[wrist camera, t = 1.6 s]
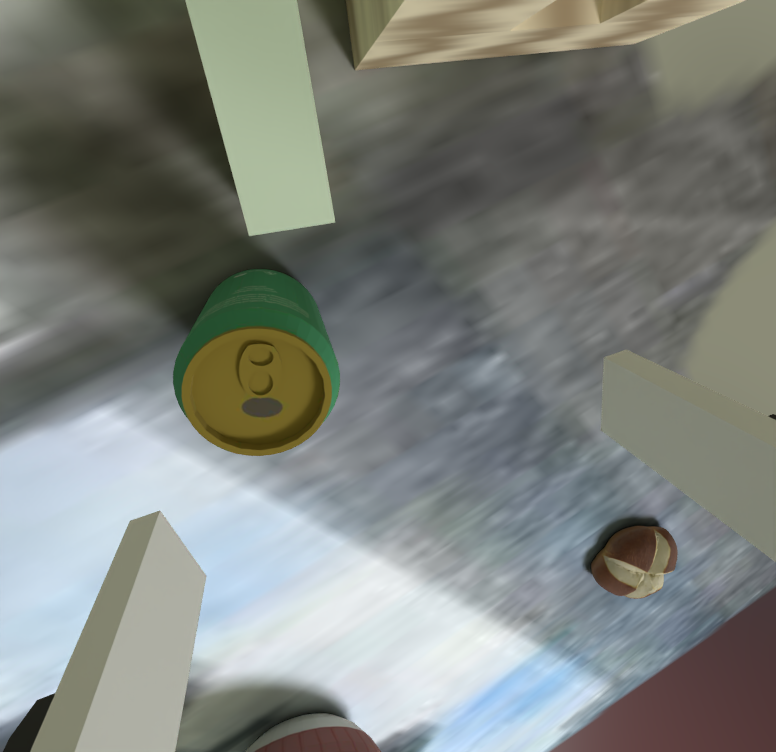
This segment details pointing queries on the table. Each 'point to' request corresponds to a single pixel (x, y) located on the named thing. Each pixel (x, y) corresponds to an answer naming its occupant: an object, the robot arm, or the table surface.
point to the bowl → (315, 736)
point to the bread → (635, 561)
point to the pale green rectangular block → (265, 110)
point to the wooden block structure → (506, 27)
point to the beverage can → (257, 366)
